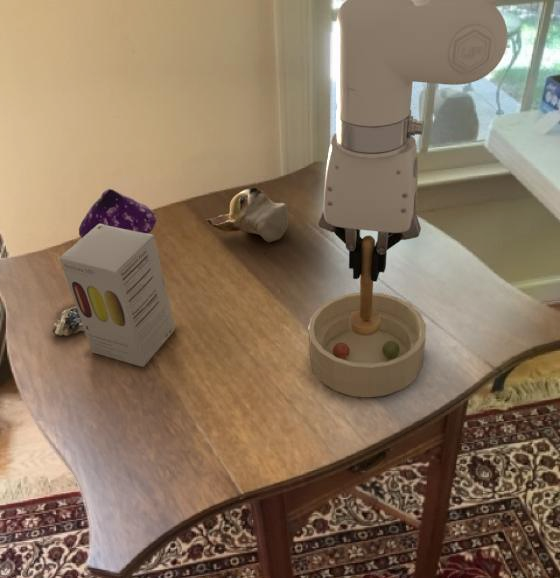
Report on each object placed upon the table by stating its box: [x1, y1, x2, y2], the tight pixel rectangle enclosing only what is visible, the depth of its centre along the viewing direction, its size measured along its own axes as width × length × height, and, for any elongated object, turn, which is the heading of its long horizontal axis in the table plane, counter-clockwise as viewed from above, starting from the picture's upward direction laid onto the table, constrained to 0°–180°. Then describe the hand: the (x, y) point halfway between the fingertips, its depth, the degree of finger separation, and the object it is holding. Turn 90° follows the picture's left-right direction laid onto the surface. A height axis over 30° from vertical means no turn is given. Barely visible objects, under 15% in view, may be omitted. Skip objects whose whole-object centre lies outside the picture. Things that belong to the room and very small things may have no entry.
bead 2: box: [382, 341, 400, 359], centre depth 90 cm, size 2×2×2 cm
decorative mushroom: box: [78, 188, 157, 239], centre depth 106 cm, size 12×12×15 cm
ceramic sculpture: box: [205, 187, 290, 243], centre depth 115 cm, size 11×9×15 cm
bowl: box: [307, 291, 427, 398], centre depth 90 cm, size 15×15×6 cm
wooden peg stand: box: [350, 235, 381, 336], centre depth 82 cm, size 4×4×14 cm
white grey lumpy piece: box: [51, 305, 85, 337], centre depth 102 cm, size 7×8×2 cm
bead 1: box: [333, 343, 350, 360], centre depth 91 cm, size 2×2×2 cm
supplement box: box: [59, 224, 176, 368], centre depth 92 cm, size 10×9×17 cm
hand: (367, 273), depth 81 cm, fingers closed on wooden peg stand, 1 cm apart
